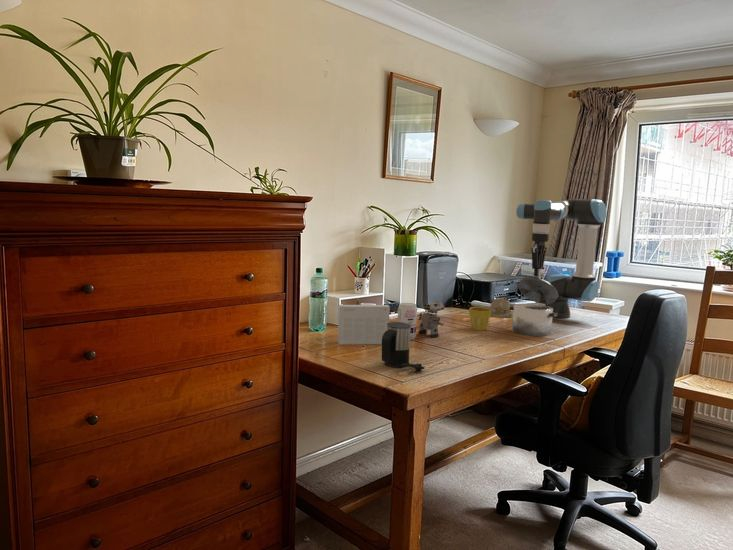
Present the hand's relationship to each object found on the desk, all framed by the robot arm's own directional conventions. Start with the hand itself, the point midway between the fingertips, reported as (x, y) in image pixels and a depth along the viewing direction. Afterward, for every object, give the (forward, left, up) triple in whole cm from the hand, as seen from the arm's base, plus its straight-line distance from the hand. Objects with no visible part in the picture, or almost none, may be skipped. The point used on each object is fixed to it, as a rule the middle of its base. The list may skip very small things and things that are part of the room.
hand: (536, 282), depth 265 cm
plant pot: (+16, -20, -24) cm, 35 cm away
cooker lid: (-2, 0, -5) cm, 5 cm away
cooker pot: (0, 0, -24) cm, 24 cm away
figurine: (+45, -28, -24) cm, 58 cm away
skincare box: (+80, -39, -24) cm, 92 cm away
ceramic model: (-24, -28, -24) cm, 44 cm away
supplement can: (+59, -32, -24) cm, 71 cm away
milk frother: (+95, -7, -24) cm, 98 cm away
